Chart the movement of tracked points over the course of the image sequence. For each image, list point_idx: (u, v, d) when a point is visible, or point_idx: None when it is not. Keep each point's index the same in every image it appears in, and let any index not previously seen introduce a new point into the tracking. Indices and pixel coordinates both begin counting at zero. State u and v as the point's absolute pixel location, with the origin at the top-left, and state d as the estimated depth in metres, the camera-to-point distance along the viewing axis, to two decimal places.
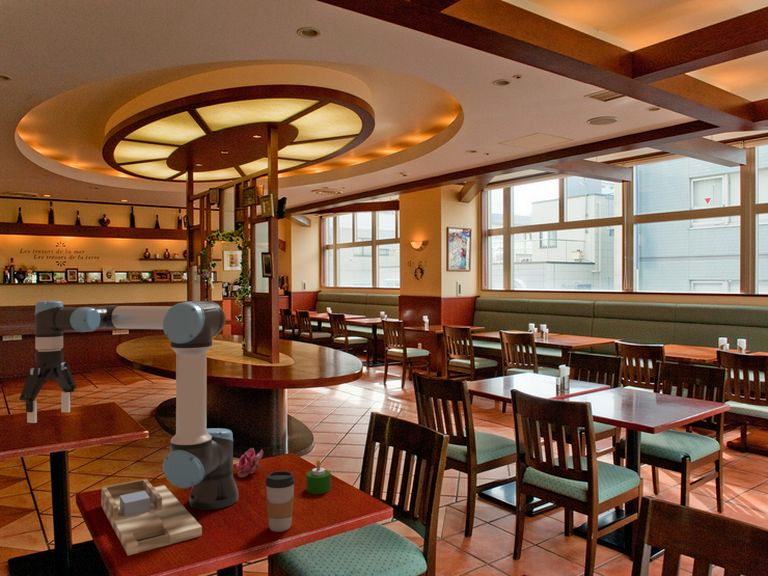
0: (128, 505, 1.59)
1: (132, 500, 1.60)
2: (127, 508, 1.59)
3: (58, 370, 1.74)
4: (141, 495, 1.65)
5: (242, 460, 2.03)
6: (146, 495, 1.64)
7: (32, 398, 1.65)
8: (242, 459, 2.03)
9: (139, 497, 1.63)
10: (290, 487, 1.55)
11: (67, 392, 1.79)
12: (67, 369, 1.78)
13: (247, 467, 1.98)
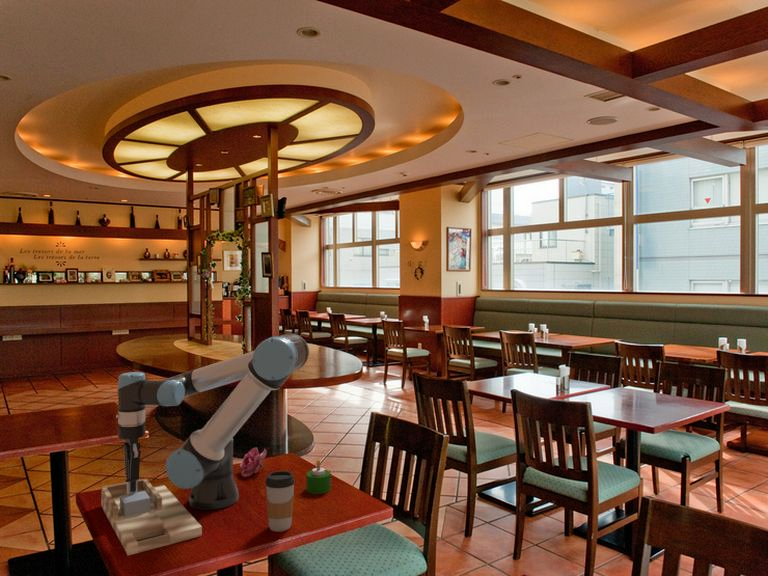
0: (128, 505, 1.59)
1: (132, 500, 1.60)
2: (127, 509, 1.59)
3: None
4: (141, 495, 1.64)
5: (246, 460, 2.03)
6: (146, 495, 1.64)
7: None
8: (246, 459, 2.03)
9: (139, 497, 1.63)
10: (290, 487, 1.55)
11: None
12: None
13: (251, 466, 1.98)
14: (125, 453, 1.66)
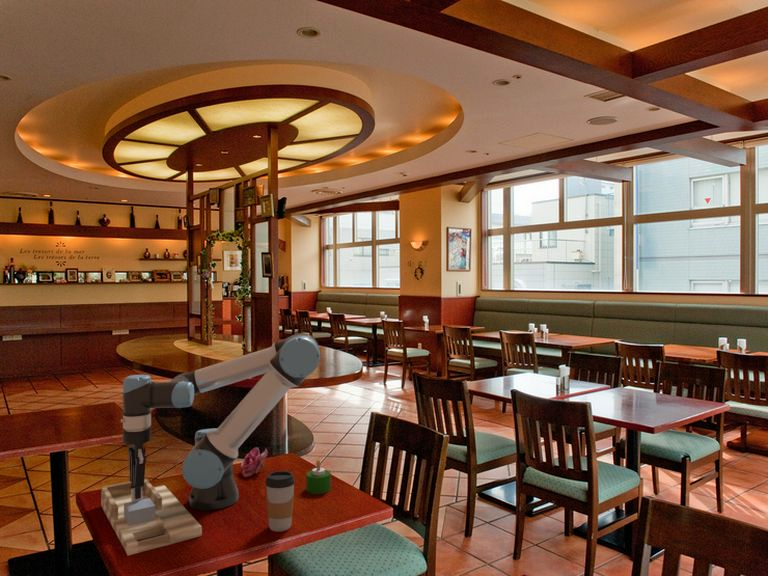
0: (132, 513, 1.53)
1: (137, 508, 1.54)
2: (131, 517, 1.53)
3: None
4: (146, 503, 1.59)
5: (247, 459, 2.04)
6: (151, 503, 1.58)
7: None
8: (247, 458, 2.04)
9: (143, 505, 1.57)
10: (290, 487, 1.55)
11: None
12: None
13: (252, 466, 1.99)
14: (130, 459, 1.60)
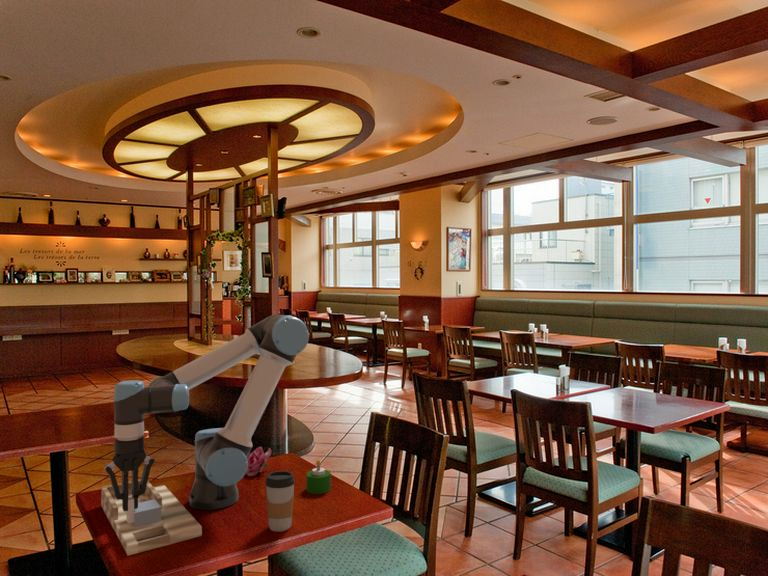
0: (138, 515, 1.52)
1: (142, 510, 1.54)
2: (137, 518, 1.52)
3: (136, 462, 1.52)
4: (151, 504, 1.58)
5: (250, 459, 2.04)
6: (157, 504, 1.57)
7: (124, 497, 1.51)
8: (250, 458, 2.04)
9: (149, 506, 1.56)
10: (290, 487, 1.55)
11: (131, 498, 1.52)
12: (148, 466, 1.55)
13: (256, 466, 1.99)
14: None
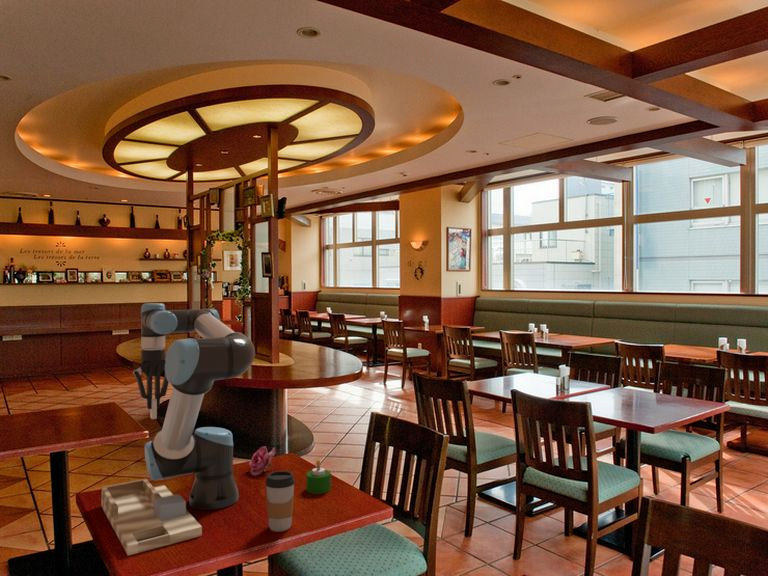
0: (164, 509, 1.56)
1: (168, 504, 1.58)
2: (163, 512, 1.56)
3: (158, 369, 1.85)
4: (176, 498, 1.62)
5: (255, 458, 2.05)
6: (181, 499, 1.62)
7: (149, 397, 1.84)
8: (255, 457, 2.05)
9: (174, 501, 1.60)
10: (290, 487, 1.55)
11: (154, 399, 1.86)
12: None
13: (260, 465, 2.00)
14: None
